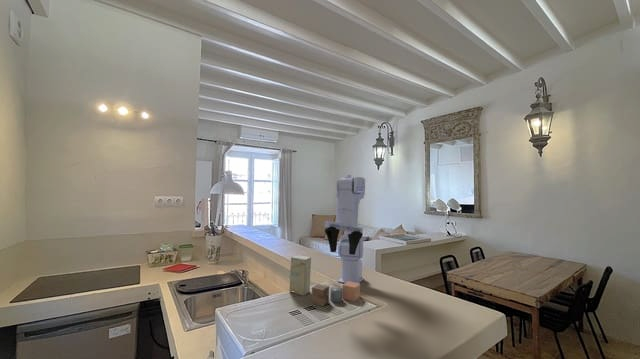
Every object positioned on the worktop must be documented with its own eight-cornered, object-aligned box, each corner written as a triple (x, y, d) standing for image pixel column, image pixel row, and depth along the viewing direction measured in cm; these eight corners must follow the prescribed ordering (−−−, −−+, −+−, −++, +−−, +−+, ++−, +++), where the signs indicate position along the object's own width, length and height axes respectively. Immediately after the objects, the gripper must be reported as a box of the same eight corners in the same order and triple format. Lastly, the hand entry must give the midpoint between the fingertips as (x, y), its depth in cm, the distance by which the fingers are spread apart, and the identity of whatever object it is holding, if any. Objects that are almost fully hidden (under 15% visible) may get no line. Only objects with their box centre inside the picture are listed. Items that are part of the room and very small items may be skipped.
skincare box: (289, 292, 88) (289, 257, 88) (296, 288, 92) (296, 254, 92) (304, 295, 85) (305, 259, 85) (310, 291, 89) (311, 256, 89)
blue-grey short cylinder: (333, 296, 84) (333, 286, 85) (344, 299, 82) (344, 288, 83) (328, 301, 81) (328, 290, 81) (339, 303, 79) (339, 292, 79)
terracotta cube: (347, 294, 87) (348, 281, 87) (360, 297, 85) (360, 283, 85) (342, 298, 83) (342, 284, 83) (355, 301, 81) (355, 287, 81)
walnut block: (318, 299, 82) (318, 283, 83) (328, 301, 80) (329, 286, 81) (311, 303, 79) (312, 287, 79) (322, 306, 77) (323, 290, 77)
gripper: (334, 205, 78) (331, 250, 73) (369, 214, 85) (368, 255, 80) (322, 209, 84) (318, 250, 79) (355, 216, 90) (354, 255, 86)
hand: (342, 253), depth 80 cm, fingers open, 7 cm apart
